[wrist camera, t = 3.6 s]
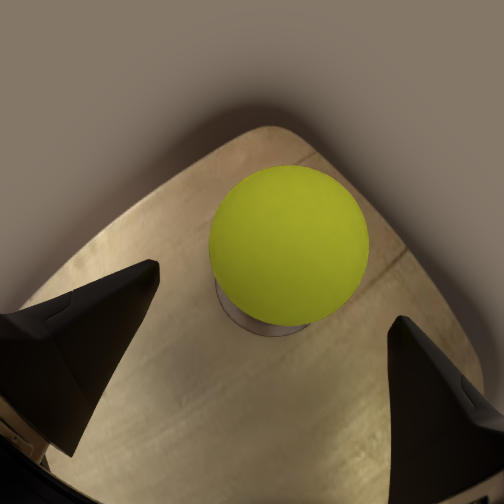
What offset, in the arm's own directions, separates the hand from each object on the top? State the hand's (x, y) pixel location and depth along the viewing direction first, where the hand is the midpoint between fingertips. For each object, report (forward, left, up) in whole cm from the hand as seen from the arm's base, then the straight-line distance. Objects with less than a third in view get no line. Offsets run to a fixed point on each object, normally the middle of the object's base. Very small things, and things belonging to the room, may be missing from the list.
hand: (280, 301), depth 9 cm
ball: (+2, +1, -1) cm, 3 cm away
